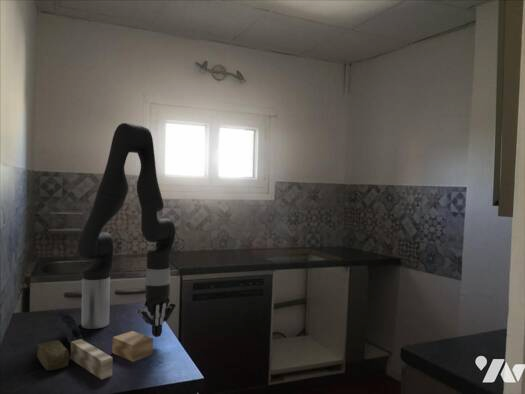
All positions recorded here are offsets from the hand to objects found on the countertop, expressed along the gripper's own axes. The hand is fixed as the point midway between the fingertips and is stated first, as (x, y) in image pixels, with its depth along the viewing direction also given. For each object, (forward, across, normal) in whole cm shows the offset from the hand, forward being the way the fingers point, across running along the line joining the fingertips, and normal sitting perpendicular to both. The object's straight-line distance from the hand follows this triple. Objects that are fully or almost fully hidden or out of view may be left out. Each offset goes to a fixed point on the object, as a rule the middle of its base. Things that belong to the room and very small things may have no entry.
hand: (156, 336), depth 129 cm
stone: (+3, +18, -20) cm, 28 cm away
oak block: (+3, +8, 0) cm, 9 cm away
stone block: (+4, +28, -10) cm, 30 cm away
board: (+3, +22, 0) cm, 22 cm away
